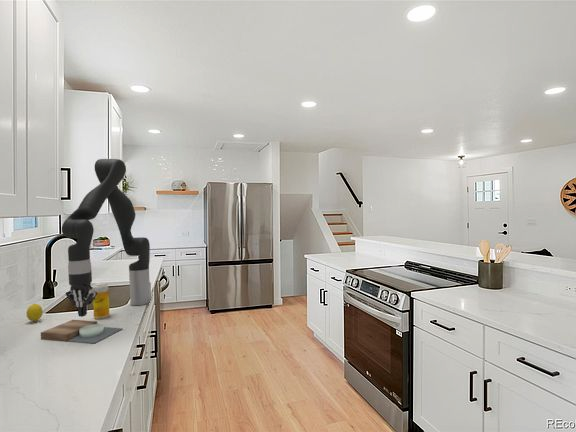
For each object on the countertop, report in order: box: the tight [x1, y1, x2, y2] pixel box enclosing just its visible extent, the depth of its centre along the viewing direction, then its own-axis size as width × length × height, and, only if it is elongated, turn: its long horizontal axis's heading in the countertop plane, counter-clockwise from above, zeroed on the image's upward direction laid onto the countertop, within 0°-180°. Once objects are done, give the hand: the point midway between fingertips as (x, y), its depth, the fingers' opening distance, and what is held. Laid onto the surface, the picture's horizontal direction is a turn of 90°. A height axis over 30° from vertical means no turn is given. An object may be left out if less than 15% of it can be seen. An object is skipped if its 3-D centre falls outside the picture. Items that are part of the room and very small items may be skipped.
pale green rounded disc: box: [79, 323, 105, 338], centre depth 127 cm, size 8×8×2 cm
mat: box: [67, 326, 124, 345], centre depth 127 cm, size 14×12×1 cm
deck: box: [40, 319, 98, 342], centre depth 129 cm, size 14×12×2 cm
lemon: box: [26, 303, 44, 323], centre depth 143 cm, size 6×6×8 cm
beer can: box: [92, 281, 110, 320], centre depth 147 cm, size 6×6×15 cm
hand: (82, 315), depth 128 cm, fingers closed
